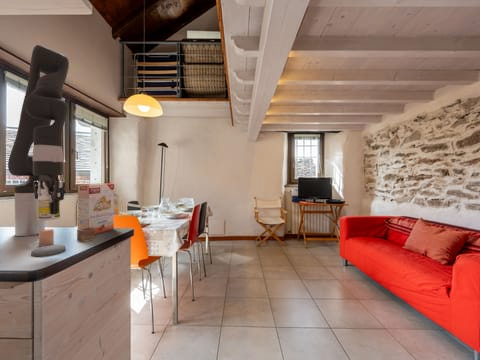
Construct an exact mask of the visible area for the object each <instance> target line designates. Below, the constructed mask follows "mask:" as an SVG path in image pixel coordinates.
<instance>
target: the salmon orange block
mask: <svg viewBox="0 0 480 360" xmlns="http://www.w3.org/2000/svg"><path fill="white" fill-rule="evenodd" d="M54 232H55V231H54V229H52V228H46V229H45V230H41V231H39V234H38V240H39V241H38V246H39V247H44V246H50V245H55V240H54V237H55V236H54V235H55V233H54Z"/></svg>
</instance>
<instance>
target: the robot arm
mask: <svg viewBox="0 0 480 360" xmlns="http://www.w3.org/2000/svg"><path fill="white" fill-rule="evenodd" d="M29 65H30V66H29V72H28V80H27V86H26V90H25V94H24V97H23V98H24V99H23V101H22V102H23V103H22V106H21V111H20V114H19V115H20V117H19V122H18V128H17V132H16V136H15V138H14V143H13V145H12V148H11V151H10V155H9V157H8V163H7V164H8V165H7V169H8V172H9V173H10V174H11V175H12V176H16V177H17V176H18V177H28V179H27V180H26V181H24V182H23V183H20V184H17V185H15V186H14V233H15V235H14V236H16V237H29V236H36V235H39V231H41V230H46V229H45V228H46V226H45V225H46V222H45V221H42V220H39V217H38V197H39V196H41V195H42V194H41V189H45V192H46V195H47V196H49V200H50V202H51V203H50V214H58V213H59V202H61V201H63V200H64V199H65V190H66V181H65V180H63V181H60V179H59V176H62V175H64V152H63V148H62V147H63V141H62V139H63V129H64V126H65V122H66V121H67V117H68V113H69V107H68V104H67V103H66V101H65V100H63V88H64V85H65V83H66V79H67V76H68V72H69V67H70V62H69V58H68V57H67V56H65V55H64V54H62V53H60V52H57V51H55V50H53V49H51V48H48V47H46V46H44V45H40V44H36V45H35V46H34V47H33V50H32V52H31V57H30V64H29ZM41 73H44V75H42V76H41ZM52 121H53V123H52ZM51 123H52V124H51ZM32 145H33V148H32V153H30V151H31V147H32ZM52 195H53V196H52Z"/></svg>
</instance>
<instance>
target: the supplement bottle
mask: <svg viewBox="0 0 480 360" xmlns="http://www.w3.org/2000/svg"><path fill="white" fill-rule="evenodd" d="M41 194H42V195H41V196H39V197H38V217H39V220H42V221H54V220H59V219H60V217H61V206H60V204H61V203H60V202H61V201H60V202H59V213H58V214H50V203H51V202H50V200H49V196H47V195H46V192H45V189H41ZM52 196H53V195H52Z"/></svg>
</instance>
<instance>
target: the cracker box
mask: <svg viewBox="0 0 480 360" xmlns="http://www.w3.org/2000/svg"><path fill="white" fill-rule="evenodd" d="M114 223H115V184H114V183H89V184H88V183H86V184H85V183H84V184H82V183H81V184H78V185H77V230H80V229H85V228H92V229H94V236H95V235H98V234H100V233H101V234H102V233H105V232H108V231H112V230H114V227H115V226H114V225H115V224H114Z"/></svg>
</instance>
